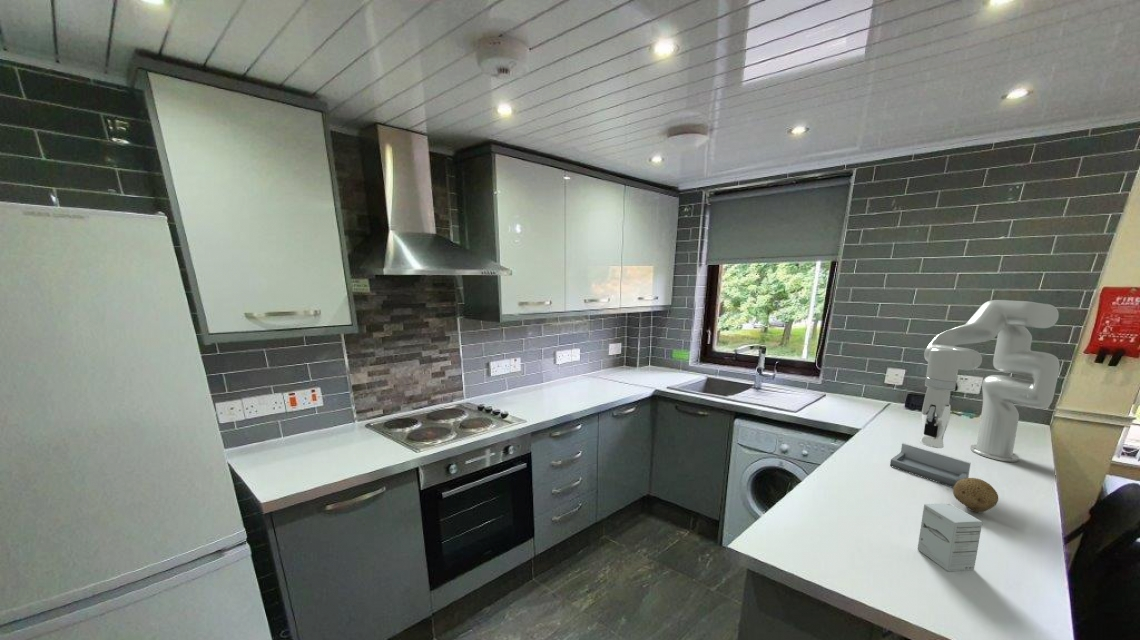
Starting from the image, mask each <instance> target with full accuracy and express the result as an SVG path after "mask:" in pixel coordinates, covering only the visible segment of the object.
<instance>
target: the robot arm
mask: <svg viewBox="0 0 1140 640" xmlns="http://www.w3.org/2000/svg"><path fill="white" fill-rule="evenodd" d="M1059 313H1060V312H1059V311H1058V309H1057V307H1056V306H1054V305H1052V304H1049V303H1040V302H1034V301H1026V300H1011V299H1010V300H1008V299H1007V300H1006V299H993V300H988V301H986V302H984V303H982V305H980V306H979V308H978V309H977V310H976V311H975V312H974V313H973V315H972V316H971V317H970V319H968V321H967V322H966V323H965V324H963V325H959V326H956V327H953V328H950V329H947V330H945V331H943V332H941V333H939V334H937V335H936V336H934V338H933V339H932V340H931V341H930V342H929V344H928V345H927V347H926V348H925V350H924V351H923V352H924V353H923V356H924V359H925V361H926V362H927V368H926V374H925V380H924V381H925V382H924V386H925V387H927V388H926V392H925V395H924V398H923V404H922V409H921V415H922V414H923V415H925V414H927V412H928V414H927V418H926V423H925V428H924V434H925V435H928V436H931V437H937V431H938V426H937V423H938V418H941V417H942V415H943V412H944V409H945V406H948V404H949V405H950V400H951V392H955V391H956V386H957V380H958V372H959V370H961V371H973V370H975V369H977V368H979V367H980V366H981V364H982V362H983V356H982V354H981V353H980V352H979V351H977V350H975V349H972V348H968V347H962V346H960V345H968V344H979V343H984V342H989V341H992V340H993V339H995V338H996V337H997V338H996V343H995V349H994V355H993V358H992V359H993V360H992V365H993V368H994V369H995V370H997V371H1000V372H1003V373H1009V374H1012V375H1013V374H1014V375H1018V376H1019V375H1020V376H1025V377H1029V378H1030V377H1031V378H1032V379H1033V380H1030V379H1024V378H1019V377H1014V376H1008V375H1001V374H991V375H988V376H986V377H984V379H983V380H982V383H981V390H982V406H981V407H982V408H981V414H980V419H979V426H978V433H977V434H978V435H977V441H976V444H972V445H970V446H969V447H970V451H972V452H973V453H975V454H978V455H979V456H982V457H986V458H989V459H991V460H992V459H993V460H996V461H1001V462H1002V461H1003V462H1008V463H1009V462H1010V463H1015V462H1018V461H1019V458H1020V457H1019V456H1018V455H1017V454H1015V453H1014V448H1015V441H1016V436H1017V431H1018V430H1017V429H1018V424H1019V419H1020V414H1019V411H1018V409H1017V408H1016V406H1015V405H1014V404H1016V405H1021V406H1025V407H1030V408H1034V409H1035V408H1036V409H1046V408H1048V407H1050V406H1051V404H1052V403H1053V401H1054V396H1055V392H1056V387H1057V383H1058V378H1059V374H1060V361H1059V358H1058V357H1057V356H1056V355H1054V354H1052V353H1049V352H1044V351H1037V350H1032V349H1031V348H1032V347H1031V346H1032V341H1033V335H1032V334H1031V332H1030V331H1029V329H1028V328H1036V329H1049V328H1052V327H1053V326H1055V324H1056V323H1057V322H1058V320H1059V316H1060V314H1059ZM959 346H960V347H959ZM935 412H936V414H937V417H935V416H933V415H934V413H935ZM933 418H935V420H934V419H933Z"/></svg>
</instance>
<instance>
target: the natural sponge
mask: <svg viewBox="0 0 1140 640" xmlns="http://www.w3.org/2000/svg"><path fill="white" fill-rule="evenodd" d="M952 488H953V487H952ZM952 492H953V496H954V498H955V499H956V500H957V501H958V502H959V503H960V504H962V505H963V506H965V507H966V508H967V509H968V510H970V511H972V512H975V513H983V512H986V511H989V510H991V509H992V508H994V507H995V506H996V505H997V504H998V502H999V495H998V492H997V490H996V489H995V488H994V487H993V486H992V485H991V484H990V483H988V482H987V481H985V480H983V479H981V478H976V477H968V478H966V479H962V480H959V481H958V482H957V483H956V484H955V485H954V488H953V490H952Z"/></svg>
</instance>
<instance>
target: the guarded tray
mask: <svg viewBox="0 0 1140 640" xmlns="http://www.w3.org/2000/svg"><path fill="white" fill-rule="evenodd" d="M889 466H890V467H892V466H893V468H895V467H896V468H895V469H898V468H899V469H898V470H901V471H903V470H904V472H906V471H907V473H909V472H910V474H912V473H913V474H912V475H915V474H916V476H918V475H919V477H921V476H922V477H921V478H924V477H925V478H924V479H927V478H928V479H927V480H930V479H931V481H933V480H934V481H933V482H936V481H937V482H936V483H939V484H942V485H944V486H947V487H950V486H951V487H952V488H953V487H954V485H955V484H956V483H957V482H958V481H959V480H962V479H966V478H970V477H969V476H970V470H971V461H967V460H963V459H961V458H960V459H959V458H958V457H957V458H956V457H954V456H950V455H947V454H943V453H940V452H936V451H933V450H929V449H926V448H923V447H919V446H916V445H912V444H909V443H906V442H902V443H901V448H900V452H899V453H897V454H896V455H894V456H893V457H892V458H890V464H889Z"/></svg>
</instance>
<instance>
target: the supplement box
mask: <svg viewBox="0 0 1140 640" xmlns="http://www.w3.org/2000/svg"><path fill="white" fill-rule="evenodd" d="M921 516H922V518H921V522H920V531H919V535H918V536H919V537H918V543H917V551H919V552H920V553H922V554H923V555H925V556H926V557H928V558H929V559H930V560H932V561H933V562H934V563H936V564H937V565H938V566H939V567H941V568H942V569H944V570H945V571H946V572H959V571H960V572H962V571H973V570H975V566H976V560H977V555H978V550H979V545H980V544H979V543H980V537H981V532H982V528H983V527H982V526H983V521H982V520H980V519H978V518H977V517H975V516H973V515H971V514H969V513H967V512H966V511H964V510H963V509H960V508H958V507H956V505H953V504H952V503H949V502H940V503H925V504H923V511H922V515H921Z"/></svg>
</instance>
